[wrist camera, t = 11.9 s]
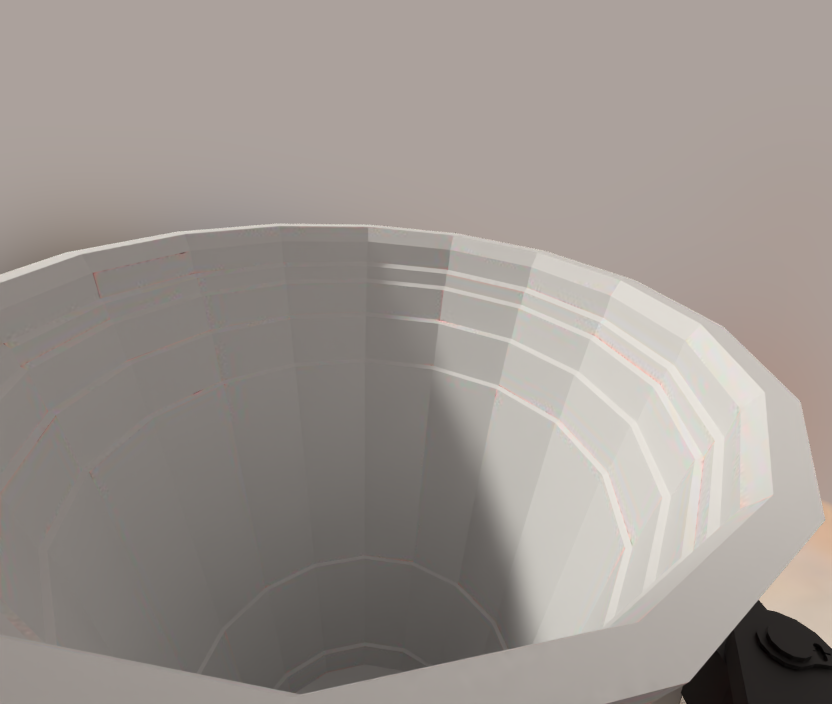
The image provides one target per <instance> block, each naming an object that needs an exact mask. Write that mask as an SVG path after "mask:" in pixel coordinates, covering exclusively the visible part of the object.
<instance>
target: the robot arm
mask: <svg viewBox="0 0 832 704" xmlns="http://www.w3.org/2000/svg"><path fill="white" fill-rule="evenodd" d="M682 696H683V698H684V700H685V702H686V704H832V648H830V647H829V646H828V645H827V644H826V643H825V642H824V641H823V640H822V639H821V638H820V637H819V636H818V635H817V634H816V633H815V632H813V631H812V630H810V629H809V628H807V627H806V626H804V625H803V624H801V623H800V622H798V621H797V620H795V619H792V618H790V617H787V616H785V615H783V614H780V613H778V612H775V611H769V610H767V609H766V608H765V607H764V606H763V605H762V603H761V602H760V601H759V600H758V601H757V602H756V603H755V604H754V606H753V607H752V608H751V609H750V610H749V612H748V613H747V614H746V615H745V616H744V617H743V619H742V620H741V621H740V622H739V623H738V625H737V626H736V627H735V628H734V629H733V631H732V632H731V633H730V634H729V635H728V637H727V638H726V639H725V640H724V641H723V642H722V644H721V645H720V646H719V647H718V648H717V650H716V651H715V652H714V653H713V654H712V656H711V657H710V658H709V659H708V660H707V661H706V663H705V664H704V665H703V666H702V667H701V669H700V670H699V671H698V672H697V673H696V675H695V676H694V677H693V678H692V679H691V681H690V682H688V683H687V684H685V685H683V686H681V687H679V688H677V689H676V690H674V691H672V692H670V693H668V694H666V695H665V696H663V697H661V698H659V699H657V700H655V701H654V702H652V703H649V704H679V703H680V700H681V698H682Z"/></svg>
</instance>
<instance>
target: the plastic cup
mask: <svg viewBox="0 0 832 704" xmlns="http://www.w3.org/2000/svg"><path fill="white" fill-rule="evenodd" d="M824 521H825V516H824V512H823V507H822V502H821V497H820V493H819V488H818V483H817V478H816V474H815V469H814V464H813V459H812V454H811V450H810V445H809V441H808V435H807V431H806V426H805V422H804V416H803V412H802V407H801V402H800V401H799V400H798V399H797V398H796V397H795V396H794V395H793V394H792V393H791V392H790V391H789V390H788V389H787V388H786V387H785V386H784V385H783V384H782V383H781V382H780V381H779V380H778V379H777V378H776V377H775V376H774V375H773V374H772V373H771V372H769V370H768V369H766V368H765V367H764V366H763V365H762V364H761V363H760V362H759V361H758V360H757V359H756V358H755V357H754V356H753V355H752V354H751V353H750V352H749V351H748V350H747V349H746V348H745V347H744V346H743V345H742V344H741V343H740V342H739V341H738V340H737V339H736V338H735V337H734V336H732V335H731V334H730V333H729V332H728V331H727V330H726V329H725V328H724V327H723V326H721V325H719V324H718V323H716V322H714V321H712V320H710V319H708V318H706V317H704V316H702V315H700V314H698V313H697V312H695V311H692V310H691V309H689V308H687V307H685V306H683V305H681V304H679V303H677V302H676V301H674V300H672V299H670V298H668V297H666V296H664V295H662V294H660V293H658V292H656V291H655V290H652V289H651V288H649V287H647V286H645V285H643V284H641V283H639V282H637V281H636V280H633V279H630V278H627V277H624V276H621V275H617V274H615V273H611V272H609V271H605V270H602V269H599V268H596V267H593V266H590V265H587V264H584V263H581V262H578V261H575V260H572V259H569V258H565V257H562V256H560V255H556V254H553V253H550V252H547V251H543V250H538V249H533V248H528V247H523V246H518V245H513V244H508V243H503V242H498V241H493V240H487V239H483V238H478V237H473V236H468V235H463V234H458V233H448V232H437V231H427V230H418V229H408V228H407V229H406V228H398V227H388V226H377V225H356V224H355V225H354V224H353V225H352V224H351V225H350V224H267V225H255V226H242V227H230V228H217V229H205V230H194V231H180V232H173V233H168V234H162V235H157V236H152V237H146V238H141V239H136V240H131V241H125V242H120V243H114V244H109V245H104V246H98V247H93V248H88V249H82V250H77V251H72V252H66V253H63V254H60V255H57V256H54V257H51V258H48V259H45V260H43V261H39V262H36V263H33V264H30V265H27V266H24V267H22V268H18V269H16V270H12V271H10V272H7V273H4V274H1V275H0V704H649V703H652V702H654V701H655V700H657V699H659V698H661V697H663V696H665V695H666V694H668V693H670V692H672V691H674V690H676V689H677V688H679V687H681V686H683V685H685V684H687V683H688V682H690V681H691V679H692V678H693V677H694V676H695V675H696V673H697V672H698V671H699V670H700V669H701V667H702V666H703V665H704V664H705V663H706V661H707V660H708V659H709V658H710V657H711V656H712V654H713V653H714V652H715V651H716V650H717V648H718V647H719V646H720V645H721V644H722V642H723V641H724V640H725V639H726V638H727V637H728V635H729V634H730V633H731V632H732V631H733V629H734V628H735V627H736V626H737V625H738V623H739V622H740V621H741V620H742V619H743V617H744V616H745V615H746V614H747V613H748V612H749V610H750V609H751V608H752V607H753V606H754V604H755V603H756V602H757V601H758V600H759V598H760V597H761V596H762V595H763V594H764V593H765V591H766V590H767V589H768V588H769V587H770V585H771V584H772V583H773V582H774V581H775V579H776V578H777V577H778V576H779V575H780V573H781V572H782V571H783V570H784V569H785V568H786V566H787V565H788V564H789V563H790V562H791V560H792V559H793V558H794V557H795V556H796V554H797V553H798V552H799V551H800V550H801V549H802V547H803V546H804V545H805V544H806V543H807V541H808V540H809V539H810V538H811V537H812V535H813V534H814V533H815V532H816V531H817V529H818V528H819V527H820V526H821V525H822V524H823V522H824Z"/></svg>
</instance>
